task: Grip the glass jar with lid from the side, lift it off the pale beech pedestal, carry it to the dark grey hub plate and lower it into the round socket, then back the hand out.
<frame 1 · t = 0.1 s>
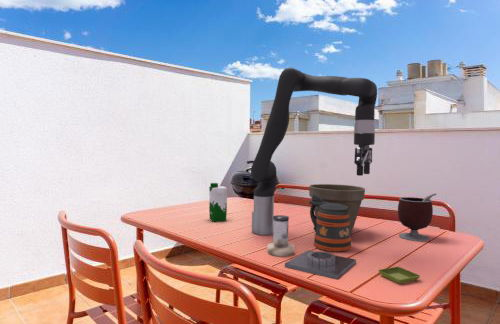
hand: (363, 174, 133), 29 cm above the table, tool pointing down, fingers open, 8 cm apart
mate gourd: (416, 238, 153), on the table
hub plate: (321, 264, 117), on the table
pedestal: (280, 252, 130), on the table
plant pot: (335, 233, 161), on the table
beer stein: (327, 246, 140), on the table
glass jar with lid: (280, 245, 130), point 2 cm above the table, touching pedestal
olive green shallow tray: (398, 280, 106), on the table
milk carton: (218, 220, 185), on the table
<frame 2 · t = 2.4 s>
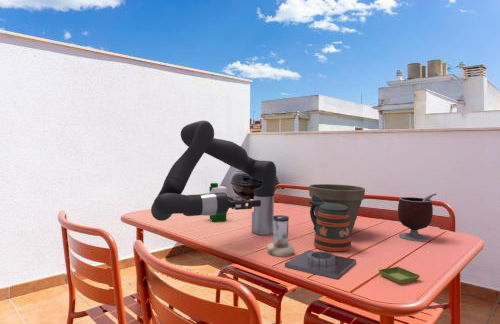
hand: (255, 201, 125), 20 cm above the table, tool horizontal, fingers open, 8 cm apart
nothing on the table moved.
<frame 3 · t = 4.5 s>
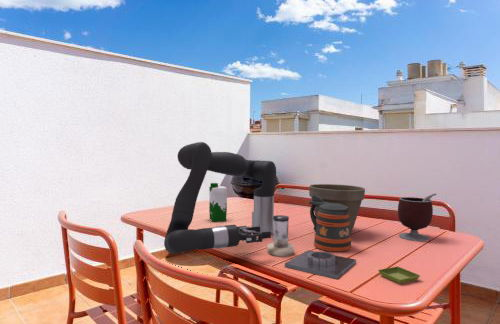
hand: (264, 231, 127), 8 cm above the table, tool horizontal, fingers open, 8 cm apart
nothing on the table moved.
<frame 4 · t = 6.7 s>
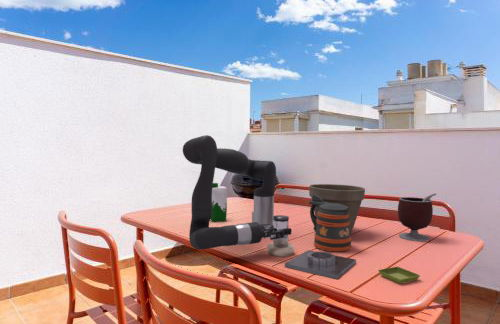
hand: (286, 229, 131), 8 cm above the table, tool horizontal, fingers closed on glass jar with lid, 5 cm apart
glass jar with lid: (280, 245, 130), point 2 cm above the table, touching gripper, pedestal
everything else where it was.
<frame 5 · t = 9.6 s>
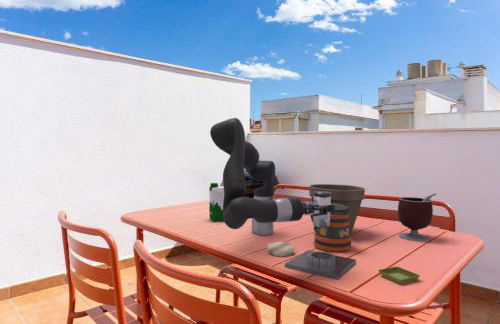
hand: (327, 206, 117), 20 cm above the table, tool horizontal, fingers closed on glass jar with lid, 5 cm apart
glass jar with lid: (321, 225, 116), point 14 cm above the table, touching gripper
everything else where it was.
when the fingers open (9 cm above the table, at t = 12.5 s): glass jar with lid drops 2 cm, resting on hub plate.
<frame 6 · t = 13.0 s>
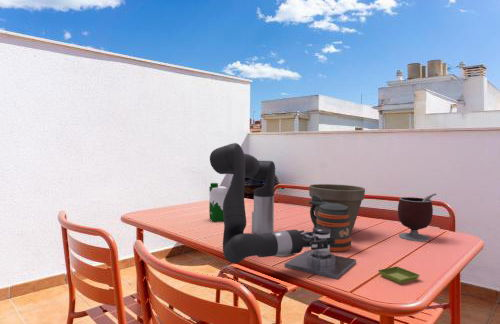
hand: (326, 237, 117), 9 cm above the table, tool horizontal, fingers open, 8 cm apart
glass jar with lid: (320, 261, 117), point 1 cm above the table, touching hub plate
everything else where it was.
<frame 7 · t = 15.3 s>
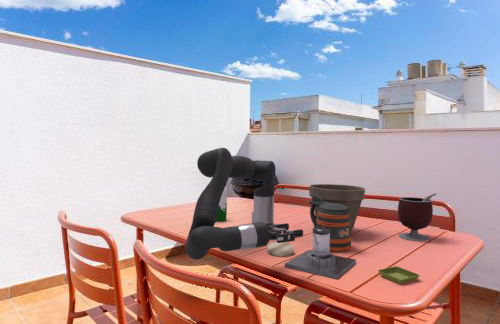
hand: (295, 229, 113), 13 cm above the table, tool horizontal, fingers open, 8 cm apart
nothing on the table moved.
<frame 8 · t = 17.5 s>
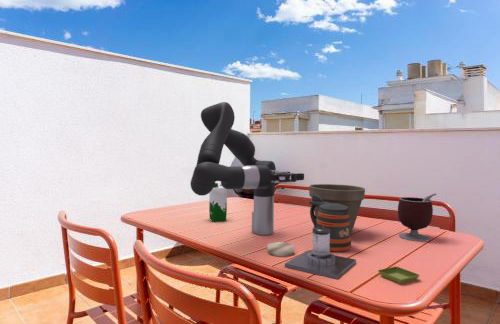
hand: (296, 175, 117), 30 cm above the table, tool horizontal, fingers open, 8 cm apart
nothing on the table moved.
at the end: glass jar with lid 0.1 cm off-centre on the hub plate, point 1.2 cm above the hub plate's base; glass jar with lid tilted 0°; the gripper is holding nothing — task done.
